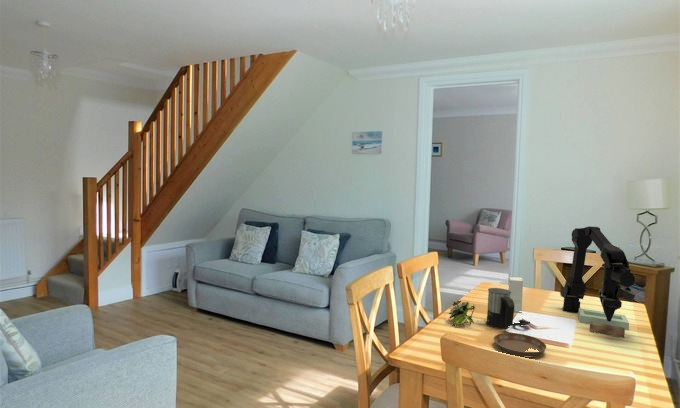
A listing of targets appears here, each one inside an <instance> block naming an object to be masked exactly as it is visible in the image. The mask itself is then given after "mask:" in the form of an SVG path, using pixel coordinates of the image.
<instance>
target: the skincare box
mask: <svg viewBox="0 0 680 408" xmlns="http://www.w3.org/2000/svg"><path fill="white" fill-rule="evenodd" d="M508 278H509V279H508V290H509V291H511V294H510V298H511V299H512V300H513V302H514V313H519V311H522V312H523V293H524V292H523V291H524V290H523V289H524V288H523V287H524V280H523V278H522V277H517V276H516V277H515V276H509V277H508Z"/></svg>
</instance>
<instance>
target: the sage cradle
mask: <svg viewBox="0 0 680 408" xmlns="http://www.w3.org/2000/svg"><path fill="white" fill-rule="evenodd" d="M577 315H578V320H579V323H583V324H589V325H590V322H595V323H601V324H606V325H612V326H618V327H623V328H624V329H625V331H626V330H627V331H629V327H630V322H629V320H628V319H627V317H626V315H625V314H621V313H620V314H619V313H615V312H614V314H613V317H612V319H611V321H610V322H609V321H607V318H606V315H605V313H604V311H601V310H594V309H587V308H581V307H580V308H579V312H578V313H577Z"/></svg>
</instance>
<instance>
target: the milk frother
mask: <svg viewBox="0 0 680 408" xmlns="http://www.w3.org/2000/svg"><path fill="white" fill-rule="evenodd" d="M487 291H488V293H487V294H488V297H487V311H486V312H487V314H486V321H485V324H486V326H488V327H491V328H495V329H500V330H503V329H504V330H505V329H508V326H509V327H514V326H521V325H524V326H527V325H529V324H530V325H531V321H527V320H525V319H519V320H518V322H520V323H515V322H514V313H515V312H514V302H513V300H512V299H511V298H510V294H511V291H509V289H506V288H499V287H490V288H487ZM513 323H514V324H513ZM512 325H513V326H512Z"/></svg>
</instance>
